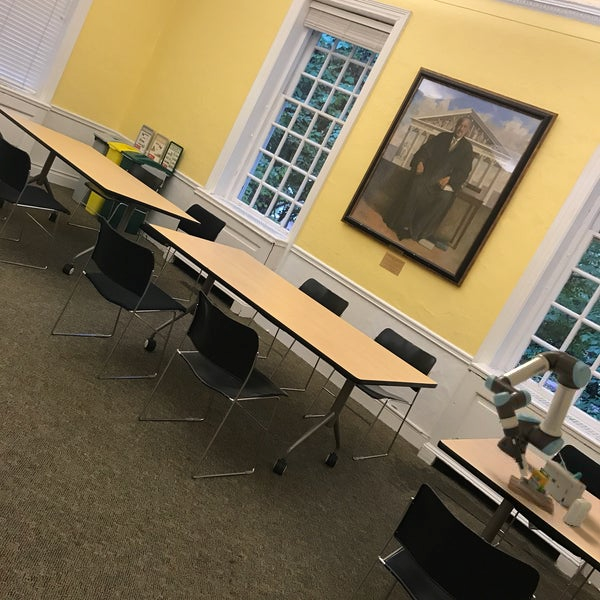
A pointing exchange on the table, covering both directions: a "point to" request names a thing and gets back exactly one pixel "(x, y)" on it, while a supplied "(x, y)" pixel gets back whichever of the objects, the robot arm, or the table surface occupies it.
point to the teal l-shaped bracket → (571, 473)
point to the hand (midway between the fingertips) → (525, 472)
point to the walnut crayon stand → (531, 493)
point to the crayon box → (538, 479)
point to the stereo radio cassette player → (562, 483)
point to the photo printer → (577, 512)
